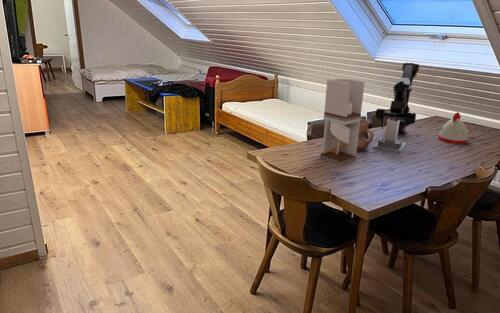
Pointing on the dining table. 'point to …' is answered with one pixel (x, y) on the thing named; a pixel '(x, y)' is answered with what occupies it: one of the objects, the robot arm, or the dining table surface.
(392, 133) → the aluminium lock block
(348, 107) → the display case
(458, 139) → the cream and red dome
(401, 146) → the coupler cradle
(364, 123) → the ceramic jug
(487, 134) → the dining table surface
